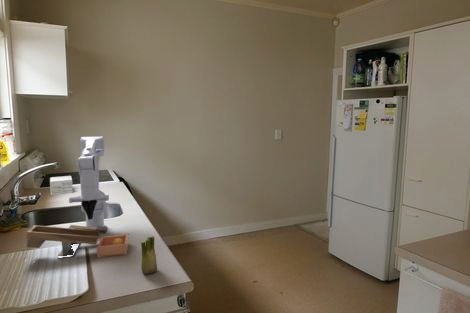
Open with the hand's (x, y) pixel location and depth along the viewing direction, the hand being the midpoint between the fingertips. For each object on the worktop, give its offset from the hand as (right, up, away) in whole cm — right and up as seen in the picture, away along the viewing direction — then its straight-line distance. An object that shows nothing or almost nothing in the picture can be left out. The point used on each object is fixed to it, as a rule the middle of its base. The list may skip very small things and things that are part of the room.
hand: (90, 218), depth 129 cm
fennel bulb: (+30, -14, -22) cm, 40 cm away
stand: (-6, -11, -5) cm, 13 cm away
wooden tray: (-6, -8, -6) cm, 11 cm away
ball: (+13, -9, -5) cm, 17 cm away
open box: (+11, -11, -5) cm, 17 cm away
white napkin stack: (-60, +1, +88) cm, 107 cm away
